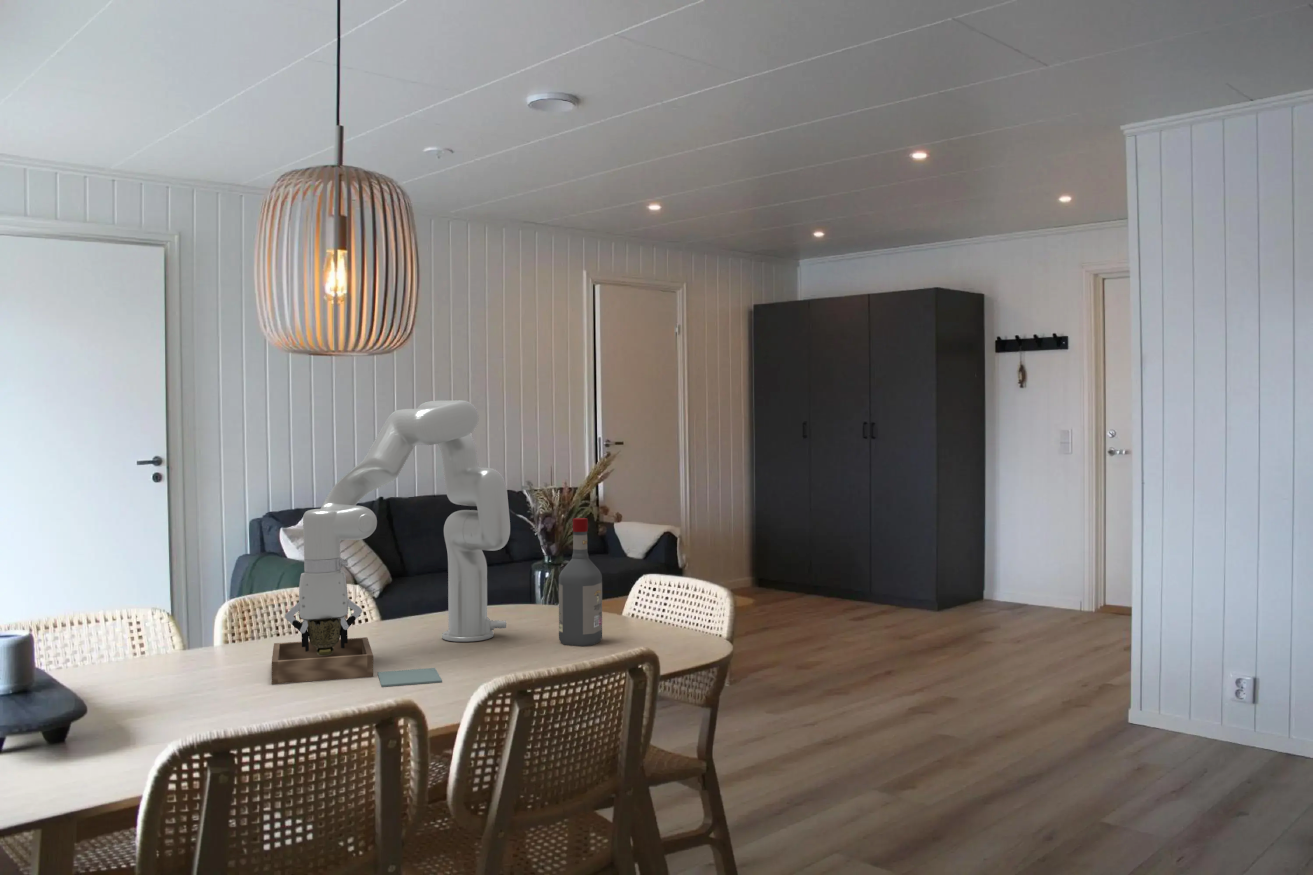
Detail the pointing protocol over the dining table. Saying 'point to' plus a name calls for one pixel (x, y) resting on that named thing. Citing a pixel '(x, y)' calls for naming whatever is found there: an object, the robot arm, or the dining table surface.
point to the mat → (409, 677)
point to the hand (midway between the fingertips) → (324, 647)
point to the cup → (324, 634)
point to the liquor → (580, 594)
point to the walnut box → (321, 662)
